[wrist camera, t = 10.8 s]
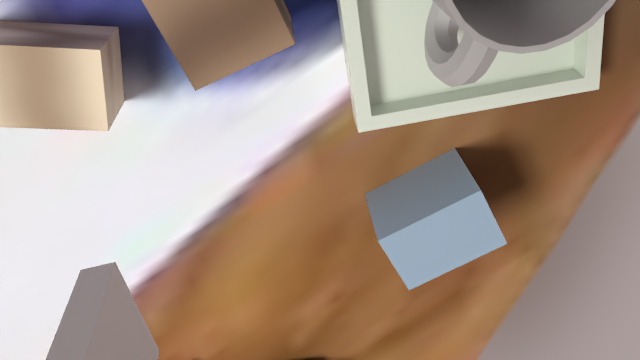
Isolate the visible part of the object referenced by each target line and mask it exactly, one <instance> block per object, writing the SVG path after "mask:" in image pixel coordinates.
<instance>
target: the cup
mask: <svg viewBox="0 0 640 360" xmlns="http://www.w3.org/2000/svg"><path fill="white" fill-rule="evenodd" d="M432 1H433V3H432V6H431V8H430V11H429V15H428V18H427V22H426V29H425V40H424V47H425V58H426V61H427V64H428V67H429V69H430V70H431V72H432V73H433V74H434V76H436V77H437V78H438V79H439V80H441V81H442V82H443V83H444V84H446V85H448V86H450V87H456V86H461V85H467V84H472V83H475V82H476V81H478V80H479V79H480V78H481V77H482V76H483V75H484V74H485V73H486V72H487V70H488V69H489V67H490V66H491V64H492V62H493V61H494V59H495V57H496V55H497V53H498V51H503V52H510V53H518V54H524V53H531V52H539V51H546V50H548V49H551V48H554V47H556V46H559V45H561V44H564V43H566V42H569V41H571V40H572V39H574V38H575V37H577V36H578V35H580V34H581V33H583V32H584V31H586V30H587V29H589V28H590V27H592V26H593V25H594V24H595V23H596V22H597V21H598V20H599V19H600V18H601V17H602V16H603V15H604V14H605V13H606V12H607V11H608V10H609V9H610V8H611V7H612V6H613V4H614V2H615V1H616V0H432ZM459 27H460V28H461V29H463V30H464V31H465V32H464V35H463V37H462V39H461V42H460V44H459V45H458V39H457V33H458V29H459Z"/></svg>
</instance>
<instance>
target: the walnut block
mask: <svg viewBox="0 0 640 360" xmlns="http://www.w3.org/2000/svg"><path fill="white" fill-rule="evenodd" d="M142 2H143V3H144V5H145V7H146V8H147V10H148V12H149V14H150V15H151V17H152V19H153V20H154V22H155V24H156V25H157V27H158V29H159V30H160V32H161V34H162V35H163V37H164V39H165V40H166V42H167V44H168V45H169V47H170V49H171V50H172V52H173V54H174V55H175V57H176V59H177V61H178V62H179V64H180V66H181V67H182V69H183V71H184V72H185V74H186V76H187V77H188V79H189V81H190V82H191V84H192V86H193V87H194V89H195V91H196V90H198V89H200V88H202V87H204V86H207V85H209V84H211V83H213V82H215V81H217V80H219V79H221V78H224V77H226V76H228V75H230V74H232V73H234V72H236V71H239V70H241V69H243V68H245V67H247V66H249V65H251V64H254V63H256V62H258V61H260V60H262V59H264V58H266V57H269V56H271V55H273V54H275V53H277V52H279V51H281V50H283V49H286V48H288V47H290V46H292V45H294V44H295V40H294V33H293V26H292V20H291V15H290V13H289V11H288V9H287V6H286V4H285V2H284V0H142Z"/></svg>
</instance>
